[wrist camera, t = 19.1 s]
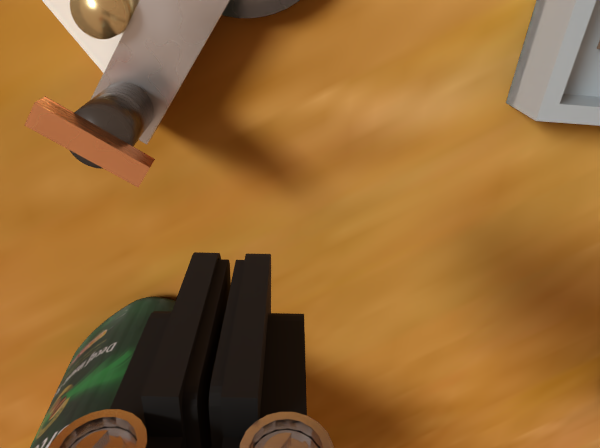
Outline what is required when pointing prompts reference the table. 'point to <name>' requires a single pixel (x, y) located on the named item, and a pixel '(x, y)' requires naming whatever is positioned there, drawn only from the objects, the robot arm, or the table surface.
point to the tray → (560, 64)
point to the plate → (84, 34)
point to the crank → (133, 87)
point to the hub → (256, 7)
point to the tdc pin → (102, 16)
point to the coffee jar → (98, 368)
